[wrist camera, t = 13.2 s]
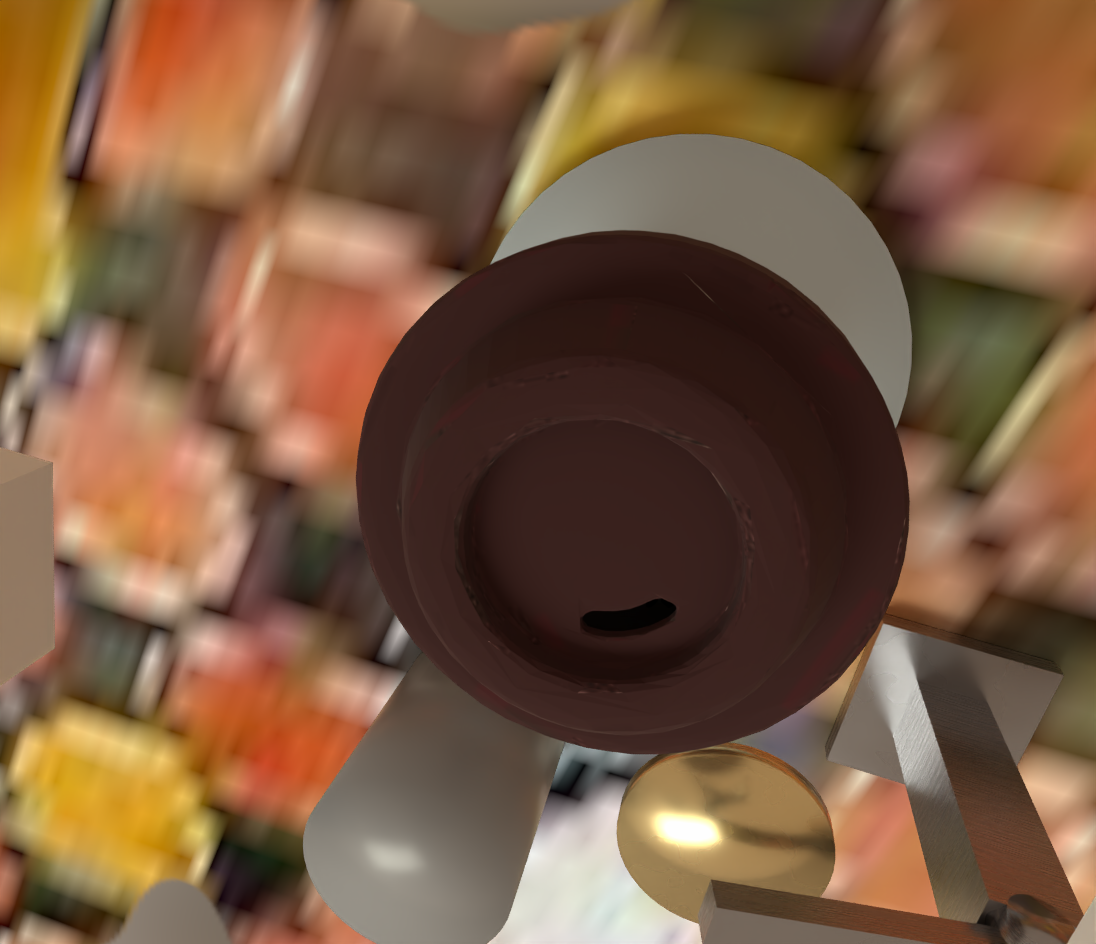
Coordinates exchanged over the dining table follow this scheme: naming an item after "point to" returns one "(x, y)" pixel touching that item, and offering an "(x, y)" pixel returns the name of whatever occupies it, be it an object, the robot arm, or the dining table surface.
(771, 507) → the coffee cup
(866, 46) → the dining table surface
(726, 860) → the balance
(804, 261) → the pale grey round disc
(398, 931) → the grey rounded capsule
